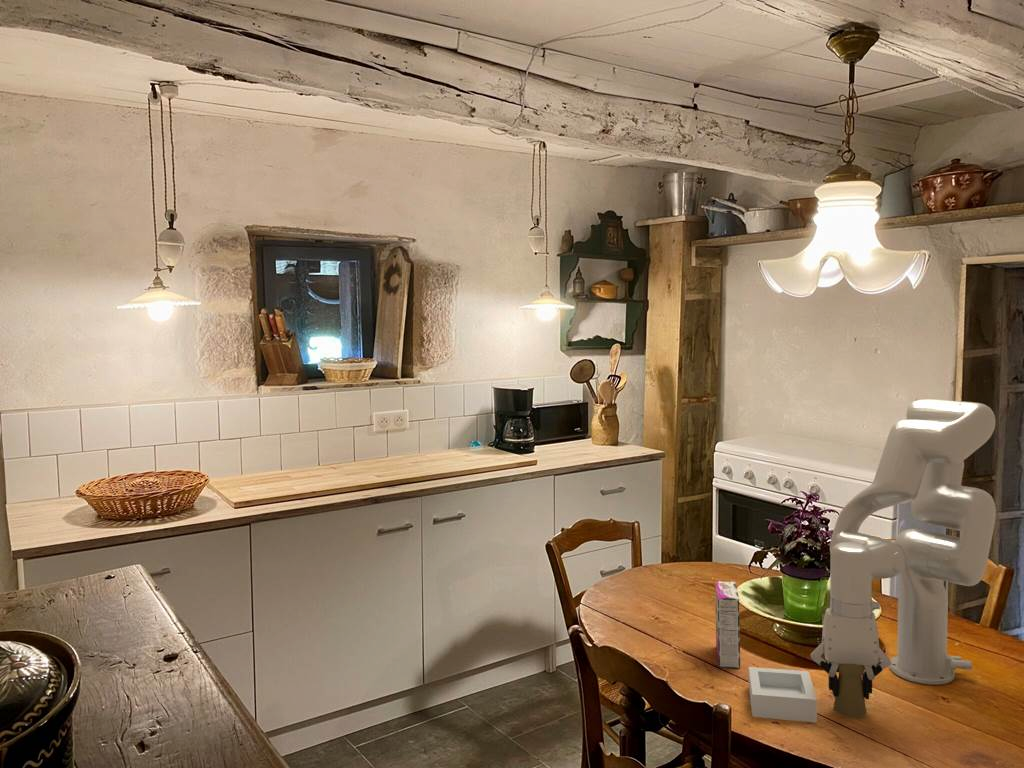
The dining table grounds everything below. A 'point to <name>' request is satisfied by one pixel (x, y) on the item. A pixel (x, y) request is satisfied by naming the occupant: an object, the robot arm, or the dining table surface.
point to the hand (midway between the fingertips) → (850, 693)
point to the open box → (782, 694)
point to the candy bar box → (727, 624)
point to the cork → (850, 691)
